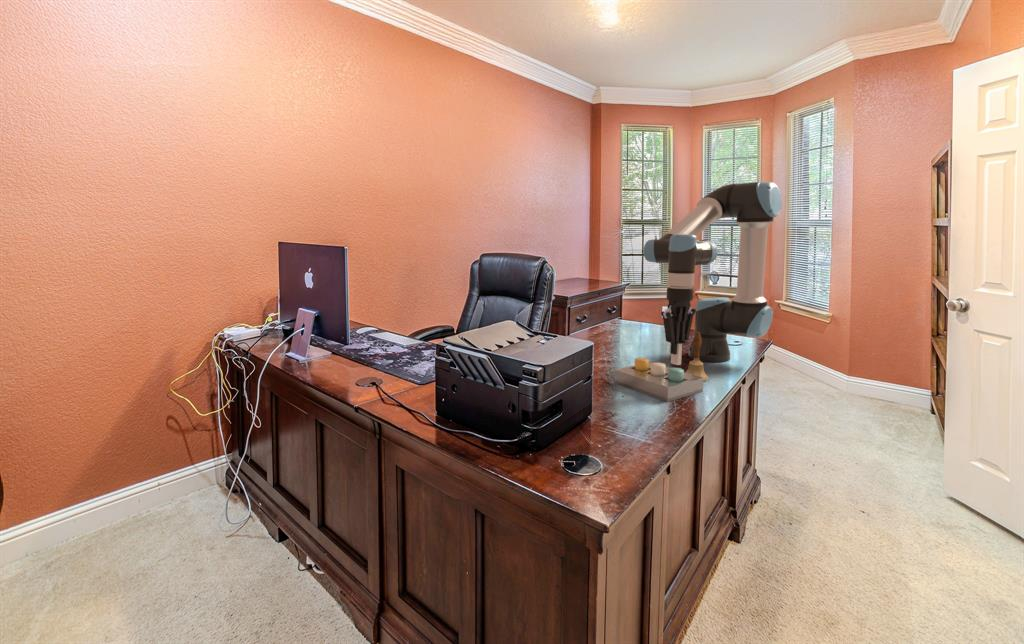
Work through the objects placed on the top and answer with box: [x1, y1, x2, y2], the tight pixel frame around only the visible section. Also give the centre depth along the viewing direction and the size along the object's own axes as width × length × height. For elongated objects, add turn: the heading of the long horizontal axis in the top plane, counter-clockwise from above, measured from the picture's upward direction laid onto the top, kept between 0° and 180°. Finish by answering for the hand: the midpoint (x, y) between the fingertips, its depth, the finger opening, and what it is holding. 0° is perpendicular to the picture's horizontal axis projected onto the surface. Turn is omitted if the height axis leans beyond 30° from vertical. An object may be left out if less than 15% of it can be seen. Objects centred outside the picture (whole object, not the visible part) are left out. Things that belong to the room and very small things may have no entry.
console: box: [614, 361, 704, 403], centre depth 162 cm, size 16×22×4 cm
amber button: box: [633, 357, 650, 372], centre depth 168 cm, size 5×5×4 cm
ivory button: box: [650, 362, 667, 377], centre depth 162 cm, size 5×5×4 cm
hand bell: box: [685, 332, 709, 382], centre depth 170 cm, size 8×8×16 cm
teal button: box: [668, 367, 685, 383], centre depth 156 cm, size 5×5×4 cm
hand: (675, 363), depth 155 cm, fingers closed
